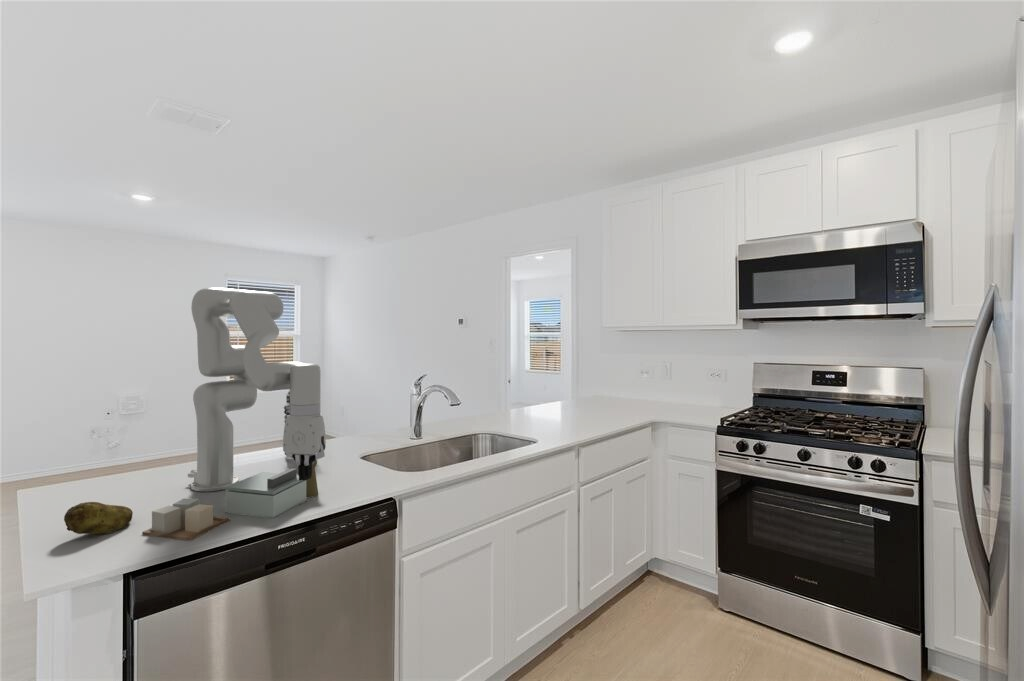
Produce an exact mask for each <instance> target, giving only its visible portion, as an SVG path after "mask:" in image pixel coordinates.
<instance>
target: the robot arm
mask: <svg viewBox="0 0 1024 681" xmlns="http://www.w3.org/2000/svg"><path fill="white" fill-rule="evenodd" d="M190 306H191V316H192V319H193V321H194V326H195V330H196V339H197V340H196V341H197V342H196V343H197V346H196V347H197V364H198V370H199V373H200V375H202V376H203V377H206V378H207V377H208V378H220V377H221V378H222V377H233V379H232V380H231V379H230V380H219V381H218V380H217V381H211V382H209V381H208V382H205V383H203V384H200V385H198V386H197V387H196V389H195V390H194V391H193V394H192V395H193V396H192V397H193V398H192V399H193V407H194V410H195V416H196V455H197V456H196V468H195V469H194V468H193V469H191V470H190V472H189V473H187V478H193V482H191V484H190V489H191V490H192V491H195V492H201V493H202V492H204V493H205V492H217V491H222V490H226V487H227V486H229V485H232V484H234V483H237V482H239V481H240V478H239V477H238V476H235V475H234V439H235V438H234V424H233V423H232V421H231V418H229V416H228V415H227V414H226V413H229V412H233V411H241V410H242V411H243V410H246V409H250V408H251V407H253V406H254V405H255V403H256V401H257V398H258V390H259V391H262V392H275V391H282V390H289V391H290V405H287V407H286V409H287V410H289V411H290V415H288V416H287V418H286V419H285V420H286V422H284V426H283V427H284V428H283V436H282V451H283V452H284V454H285V453H286V456H289V457H292V458H293V459H294V461H295V463H296V465H297V467H298V468H297V475H299V480H303V481H306V480H308V479H310V478H311V475H312V463H314V461H315V460H316V459H317V460H318V459H319V460H320V459H322V458H325V455H326V454H325V450H326V444H327V442H326V441H327V440H326V438H327V437H326V428H325V427H326V426H325V421H324V416H323V415H322V414H321V367H320V366H319V365H320V364H319V365H318V364H317V363H313V362H311V363H310V362H309V363H307V362H306V363H304V362H301V361H296V360H295V361H275V362H273V361H272V362H268V361H267V360H266V359H265V358H264V356H263V354H262V352H261V349H262V348H265V347H266V346H269V345H270V344H272V343H273V342H274V341H276V339H277V338H278V337H279V335H280V329H279V326H278V325H277V323H276V322H275V321H276V320H278V319H280V318H281V317H282V316H283V313H284V303H283V300H282V299H281V297H280V296H279V295H278V294H276V293H274V292H272V291H271V292H270V291H260V290H259V291H258V290H251V289H250V290H249V289H237V288H230V287H229V288H226V287H205V288H201V289H199V290H197V292H195V294H194V295H193V297H192V300H191V305H190ZM221 317H228V318H229V317H231V318H232V317H233V318H234V319H235V320H236V322H237V324H238V326H239V328H240V329H241V331H242V333H243V335H244V337H245V338H246V340H247V342H246V343H245V345H240V344H237V345H236V344H235V345H232V344H231V340H230V339H231V338H230V336H231V335H230V329H229V328H228V326H227V324H226V323H225V322H224V320H223V319H222V318H221Z"/></svg>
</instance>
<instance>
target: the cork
mask: <svg viewBox="0 0 1024 681" xmlns="http://www.w3.org/2000/svg"><path fill="white" fill-rule="evenodd" d="M317 465H318V459H316V460H315V461H314V463H312V475H311V478H310V479H308V480H306V497H309V498H313V497H315V495H316V496H318V494H319V488H318V480H317V474H316V473H317V472H316V467H317ZM312 496H313V497H312Z"/></svg>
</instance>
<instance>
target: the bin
mask: <svg viewBox="0 0 1024 681" xmlns="http://www.w3.org/2000/svg"><path fill="white" fill-rule="evenodd" d="M224 502H225V504H224V505H225V507H224V508H225V514H231V515H242V516H250V517H251V516H252V517H257V518H258V517H259V518H270V519H275V518H277V517H278V516H280V515H281V514H284V513H285V512H287V511H288V510H290V509H292V508H294V507H295V506H300V505H301V504H304V503H305V502H307V498H306V481H301V482H298V483H296V484H294V485H292V486H290V487H288V488H286V489H284V490H282V491H280V492H278V493H276V494H274V495H270V494H260V493H250V492H240V491H229V490H225V501H224Z"/></svg>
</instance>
